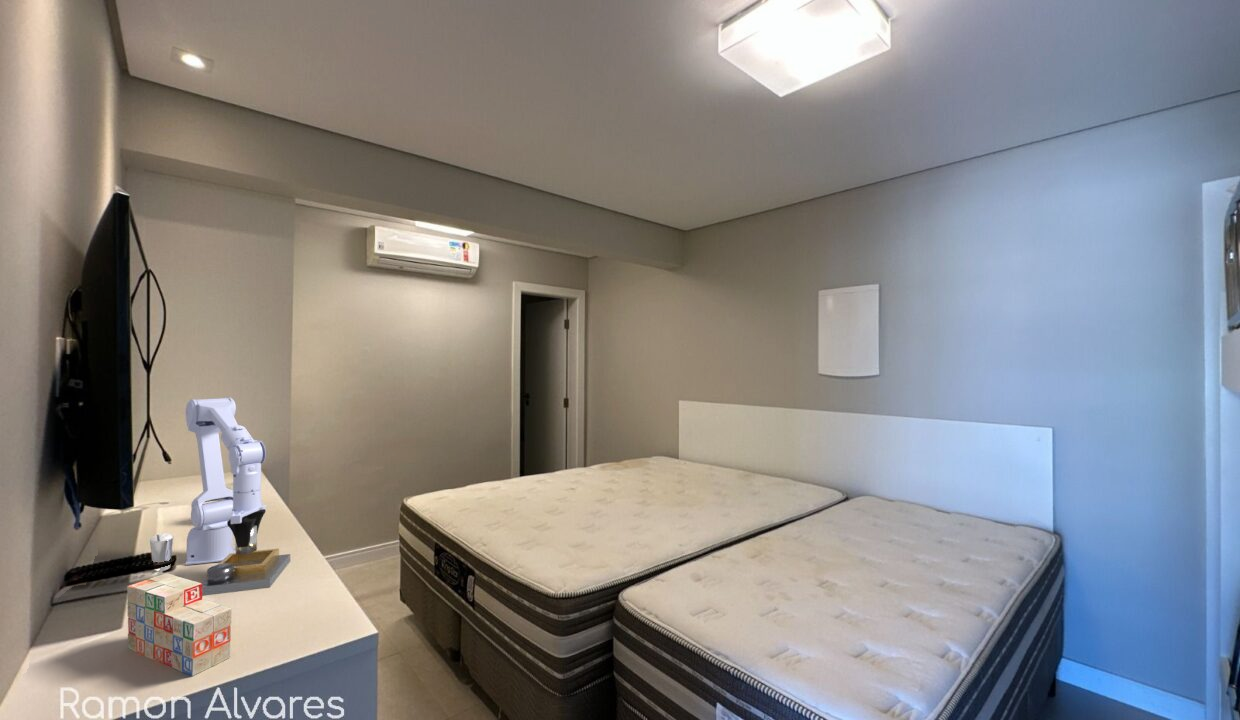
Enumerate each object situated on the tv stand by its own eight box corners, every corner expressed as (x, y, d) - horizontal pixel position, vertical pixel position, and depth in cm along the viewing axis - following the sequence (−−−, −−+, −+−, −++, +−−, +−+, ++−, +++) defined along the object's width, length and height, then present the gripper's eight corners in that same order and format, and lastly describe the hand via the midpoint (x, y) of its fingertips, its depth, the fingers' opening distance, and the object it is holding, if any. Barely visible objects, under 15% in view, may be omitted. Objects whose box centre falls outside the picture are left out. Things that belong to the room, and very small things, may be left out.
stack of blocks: (231, 658, 92) (232, 591, 92) (191, 678, 86) (192, 607, 86) (166, 632, 100) (167, 571, 100) (126, 649, 94) (126, 584, 94)
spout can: (232, 555, 124) (232, 527, 124) (238, 549, 128) (238, 522, 128) (254, 553, 125) (253, 525, 125) (259, 546, 129) (259, 520, 129)
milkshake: (145, 575, 125) (145, 536, 125) (153, 567, 130) (153, 529, 130) (169, 572, 128) (169, 533, 127) (176, 564, 132) (176, 526, 132)
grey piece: (199, 595, 115) (199, 574, 115) (228, 568, 130) (228, 549, 130) (270, 587, 120) (270, 566, 120) (290, 561, 135) (290, 543, 135)
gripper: (255, 496, 121) (254, 551, 121) (275, 482, 135) (274, 531, 135) (220, 498, 119) (220, 555, 119) (244, 484, 132) (243, 534, 132)
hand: (246, 543), depth 126 cm, fingers closed on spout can, 4 cm apart
